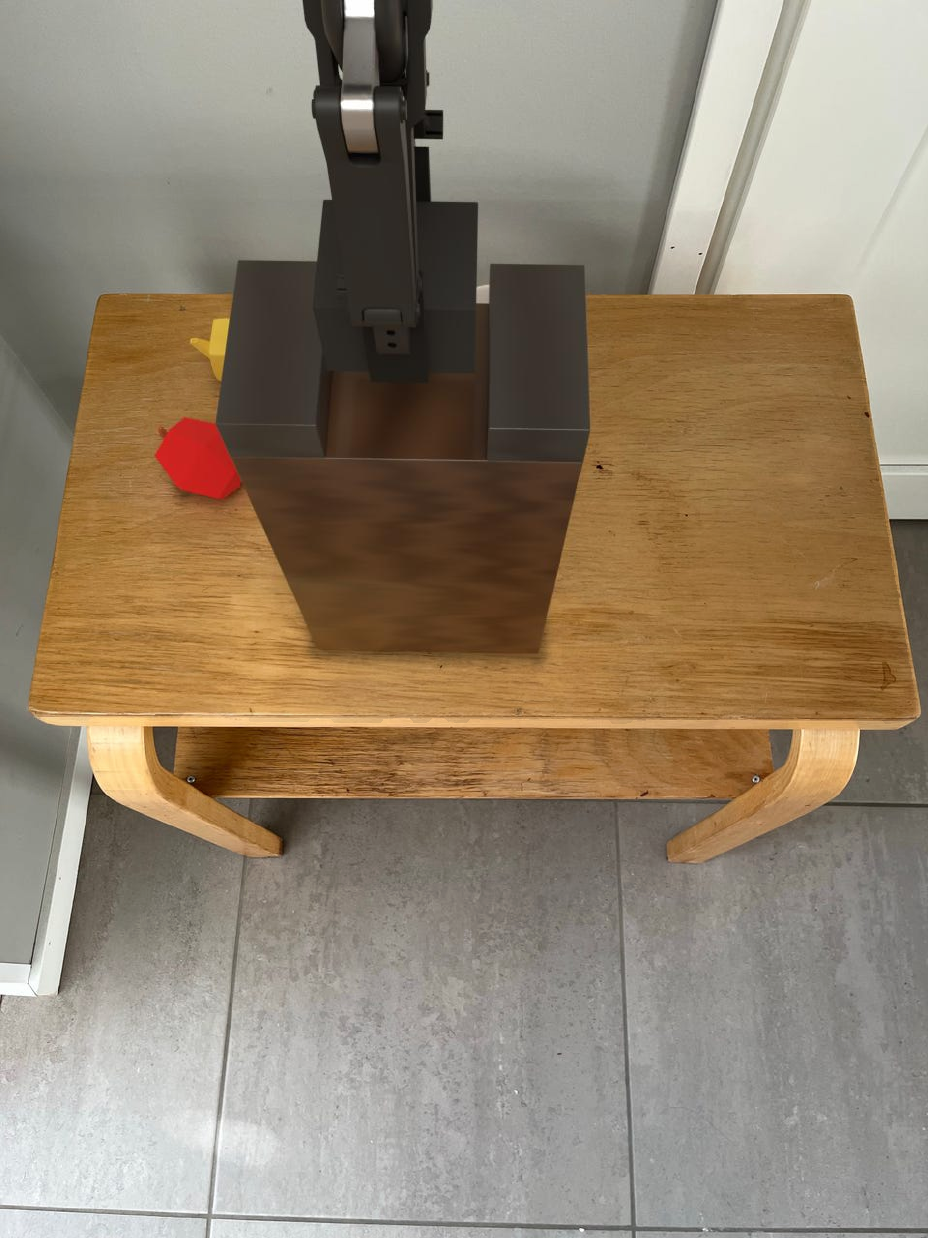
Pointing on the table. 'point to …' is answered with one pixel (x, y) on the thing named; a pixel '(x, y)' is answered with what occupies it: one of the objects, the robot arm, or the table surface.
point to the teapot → (214, 345)
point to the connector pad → (447, 286)
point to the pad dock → (413, 464)
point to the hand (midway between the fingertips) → (403, 316)
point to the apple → (197, 459)
